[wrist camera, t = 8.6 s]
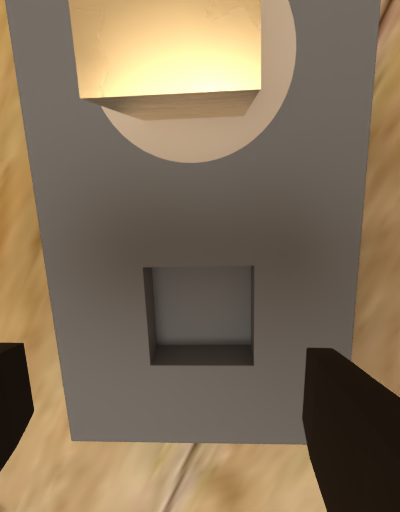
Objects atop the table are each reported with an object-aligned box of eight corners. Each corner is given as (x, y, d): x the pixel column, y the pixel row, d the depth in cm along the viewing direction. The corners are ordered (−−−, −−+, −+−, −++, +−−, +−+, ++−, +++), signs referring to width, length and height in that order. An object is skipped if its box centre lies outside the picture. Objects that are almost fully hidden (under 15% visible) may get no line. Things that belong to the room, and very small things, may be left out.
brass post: (242, -1, 14) (261, -142, 7) (243, 115, 15) (260, 89, 8) (134, 6, 14) (53, -123, 7) (143, 120, 15) (79, 98, 8)
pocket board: (366, -107, 15) (396, -161, 12) (330, 412, 21) (345, 448, 19) (22, -80, 16) (-17, -125, 13) (88, 409, 22) (70, 443, 20)
